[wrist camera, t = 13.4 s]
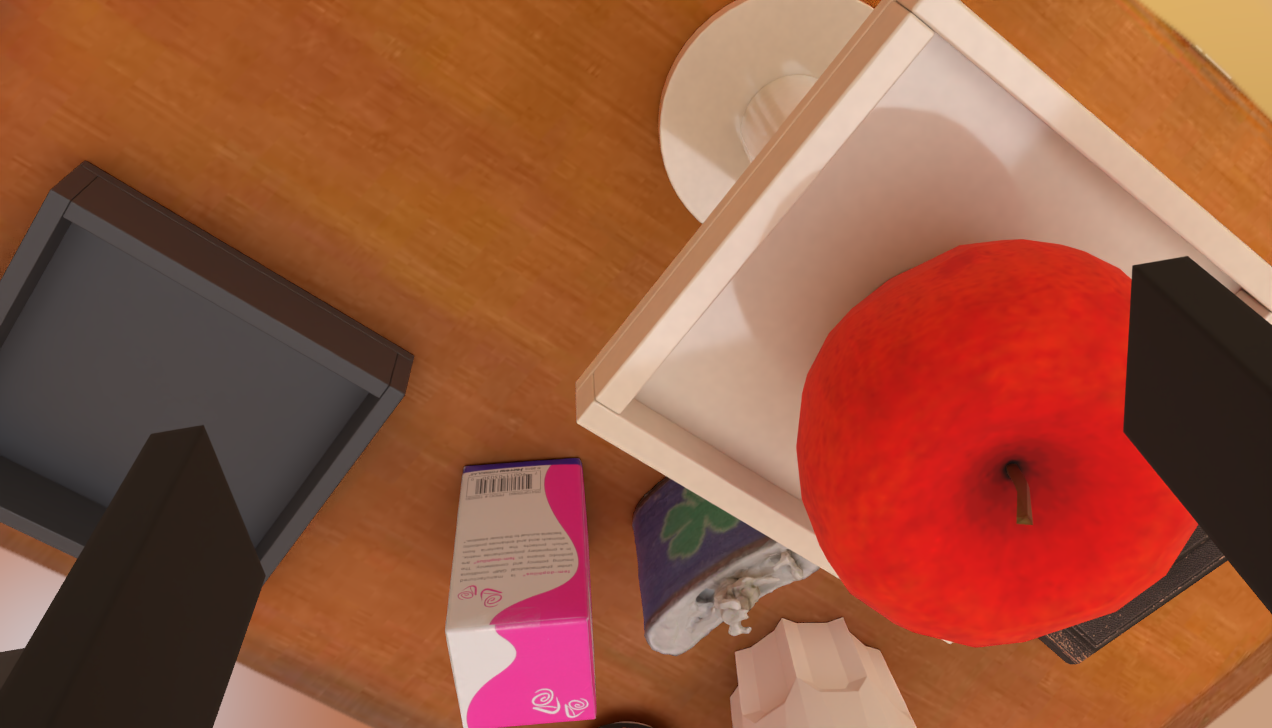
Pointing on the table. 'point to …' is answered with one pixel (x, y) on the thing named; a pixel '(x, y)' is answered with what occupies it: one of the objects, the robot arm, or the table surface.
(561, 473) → the supplement box
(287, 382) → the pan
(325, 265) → the table surface
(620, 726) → the beverage can
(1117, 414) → the apple
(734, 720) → the cup
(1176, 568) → the hardcover book
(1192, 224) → the pedestal tray stand
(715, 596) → the flask
